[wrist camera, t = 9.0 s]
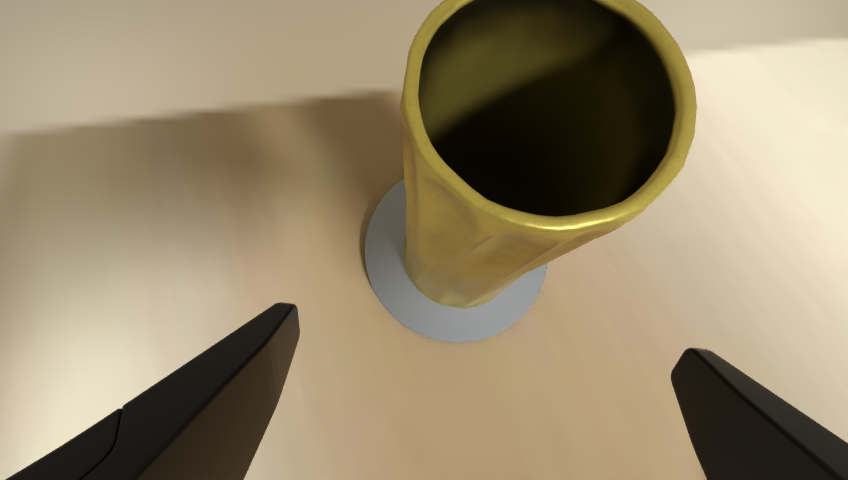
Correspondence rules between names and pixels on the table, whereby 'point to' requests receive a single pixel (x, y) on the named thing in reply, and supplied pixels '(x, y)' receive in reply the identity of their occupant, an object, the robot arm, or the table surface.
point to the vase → (533, 135)
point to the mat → (413, 305)
